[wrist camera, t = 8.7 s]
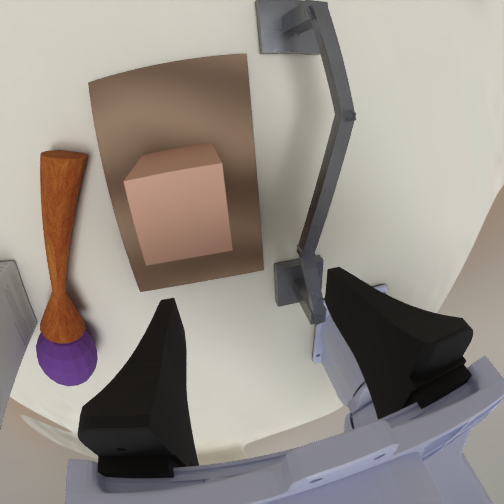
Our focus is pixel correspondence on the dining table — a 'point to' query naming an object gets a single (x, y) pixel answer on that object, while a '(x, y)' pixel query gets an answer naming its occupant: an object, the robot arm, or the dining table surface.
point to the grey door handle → (326, 43)
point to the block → (179, 204)
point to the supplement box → (12, 328)
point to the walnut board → (176, 136)
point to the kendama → (62, 273)
